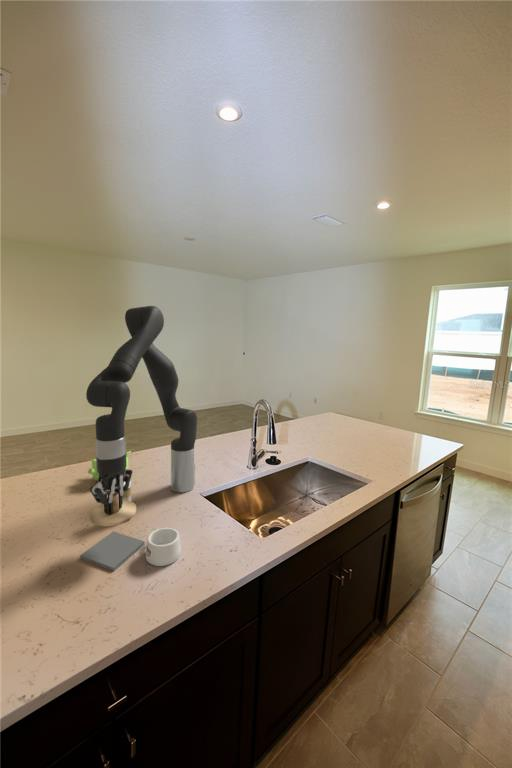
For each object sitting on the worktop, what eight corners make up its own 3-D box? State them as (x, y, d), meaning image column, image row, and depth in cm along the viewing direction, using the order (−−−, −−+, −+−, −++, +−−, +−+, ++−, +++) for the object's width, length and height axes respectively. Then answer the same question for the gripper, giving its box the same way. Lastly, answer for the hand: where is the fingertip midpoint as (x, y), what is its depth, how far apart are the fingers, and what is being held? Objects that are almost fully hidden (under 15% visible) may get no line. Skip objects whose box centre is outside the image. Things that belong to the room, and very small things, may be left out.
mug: (186, 558, 90) (186, 539, 89) (153, 573, 84) (153, 552, 83) (169, 536, 100) (169, 519, 99) (138, 548, 93) (137, 529, 93)
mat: (113, 534, 99) (113, 531, 99) (144, 544, 95) (144, 541, 95) (80, 558, 88) (79, 555, 88) (113, 571, 84) (113, 568, 84)
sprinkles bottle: (119, 515, 110) (118, 478, 108) (133, 514, 110) (132, 478, 108) (115, 522, 105) (114, 484, 103) (129, 522, 106) (128, 484, 104)
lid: (113, 499, 98) (112, 481, 97) (145, 507, 94) (144, 489, 93) (79, 520, 87) (78, 500, 86) (114, 530, 82) (113, 510, 82)
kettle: (131, 471, 144) (131, 448, 142) (128, 486, 130) (128, 460, 129) (95, 474, 140) (94, 449, 138) (88, 489, 126) (87, 462, 124)
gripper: (119, 442, 95) (121, 496, 98) (78, 459, 82) (82, 521, 85) (139, 446, 92) (141, 501, 95) (101, 464, 79) (104, 527, 82)
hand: (113, 510), depth 90 cm, fingers closed on lid, 2 cm apart
